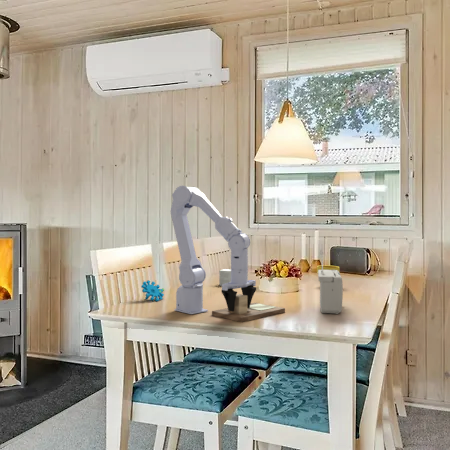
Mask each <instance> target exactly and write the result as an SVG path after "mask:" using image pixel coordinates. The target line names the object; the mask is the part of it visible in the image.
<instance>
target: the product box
mask: <svg viewBox="0 0 450 450" xmlns="http://www.w3.org/2000/svg"><path fill="white" fill-rule="evenodd" d="M218 274H219V276H218V279H219V286H221V287H222V284H225V283H229V282H231V268H230V269H229V268H228V269H227V268H223V269H220V270H219V273H218Z"/></svg>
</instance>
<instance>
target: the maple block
mask: <svg viewBox="0 0 450 450" xmlns="http://www.w3.org/2000/svg"><path fill="white" fill-rule="evenodd" d="M231 313H235V314H244V313H247V295H243V294H240V293H237V294H236V298H235V308H234V311H231Z"/></svg>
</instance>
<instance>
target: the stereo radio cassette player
mask: <svg viewBox="0 0 450 450" xmlns="http://www.w3.org/2000/svg"><path fill="white" fill-rule="evenodd" d="M321 254H323V251H321ZM323 256H324V255H321V265H322V270H318V273H317V276H318V282H319V281H320V282H319V306H320V313H321V314H336V315H338V314H340V313H341V312H342V311H343V300H344V299H343V295H344V294H343V291H344V290H343V278H342V276H341V273H340V271H337V270H323V265H324V261H323V260H324V258H323Z"/></svg>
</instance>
